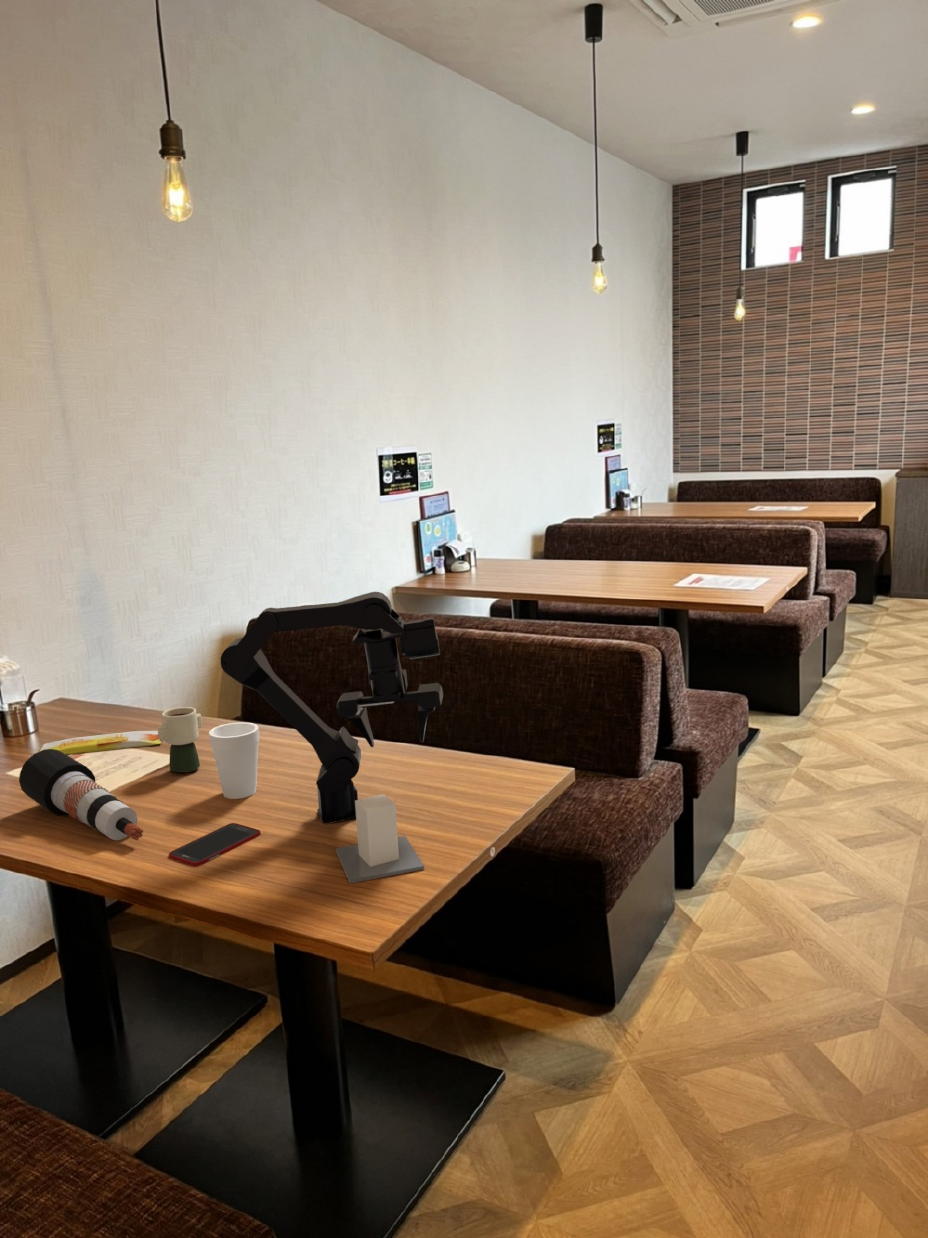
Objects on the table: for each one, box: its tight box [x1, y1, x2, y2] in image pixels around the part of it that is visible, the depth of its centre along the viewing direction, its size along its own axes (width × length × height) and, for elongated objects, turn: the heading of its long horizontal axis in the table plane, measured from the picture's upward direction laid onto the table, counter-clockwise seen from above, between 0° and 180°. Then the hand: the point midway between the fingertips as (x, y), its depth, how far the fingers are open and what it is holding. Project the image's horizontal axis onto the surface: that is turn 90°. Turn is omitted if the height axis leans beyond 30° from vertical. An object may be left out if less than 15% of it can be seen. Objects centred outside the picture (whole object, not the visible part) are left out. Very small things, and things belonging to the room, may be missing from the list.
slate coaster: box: [335, 835, 425, 884], centre depth 152 cm, size 12×12×1 cm
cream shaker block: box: [355, 793, 399, 867], centre depth 151 cm, size 5×5×10 cm
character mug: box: [157, 706, 203, 774], centre depth 197 cm, size 11×7×13 cm, turn 145°
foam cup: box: [208, 722, 260, 800], centre depth 183 cm, size 10×9×13 cm
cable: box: [18, 749, 144, 841], centre depth 172 cm, size 10×34×10 cm, turn 49°
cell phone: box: [168, 822, 262, 867], centre depth 161 cm, size 8×15×1 cm, turn 145°
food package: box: [38, 730, 163, 756], centre depth 217 cm, size 27×2×10 cm
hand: (397, 743), depth 170 cm, fingers open, 9 cm apart
